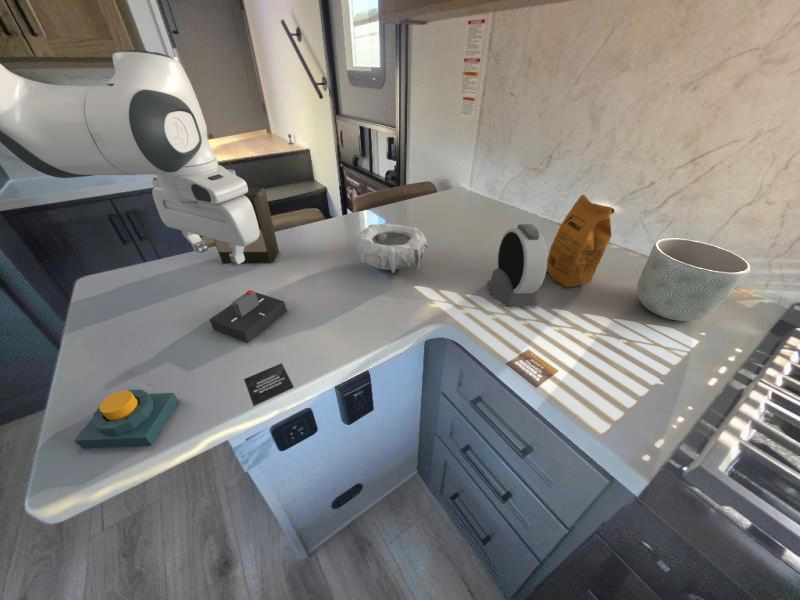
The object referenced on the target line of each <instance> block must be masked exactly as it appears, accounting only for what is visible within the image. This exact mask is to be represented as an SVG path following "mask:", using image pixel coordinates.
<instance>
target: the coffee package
mask: <svg viewBox="0 0 800 600" xmlns="http://www.w3.org/2000/svg"><path fill="white" fill-rule="evenodd" d="M614 213H615V208H614V207H611V206H607V205H602V204H598V203H592V202H591V200H589V199H588V197H587V196H586V195H585V194H581V195H580V196H579V197H578V199H577V201H576V202H575V203H574V204H573V206H572V207H571V209H570V211H569V212H568V214H566V216H565V218H564V219H563V221H562V222H561V223H560V226H559V228H558V230H557V232H556V235H555V237H554V239H553V241H552V244H551V245H550V247H549V251H548V255H547V269H546V273H549V275H550V277H551V279H552V280H553V281H554V282H556V283H557V284H560V285H561V286H563V287H564V288H571V287H577V286H582V285H588V284H591V282H592V281H593V278H594V276H595V273H596V270H597V268H598V266H599V264H600V263H601V260H602V258H603V256H604V254H605V252H606V249H607V246H608V245H609V243H610V241H611V239H612V224H611V223H612V222H611V215H613V214H614Z"/></svg>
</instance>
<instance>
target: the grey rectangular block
mask: <svg viewBox="0 0 800 600" xmlns="http://www.w3.org/2000/svg"><path fill="white" fill-rule="evenodd" d="M231 304H233V306H234V309H235V311H236V314H237V315H238V316H241V317H243V316H244V315H245V314H247V313H248V312H250V311H251V310H252V309H254V308H255V307H256V306H258V305H259V302H258V299H257V296H256V291H254V290H251V289H248V290H247V291H246V292H245V293H243V294H242V295H241V296H239V297H238V298H236V299H235V300H233V301H232V302H231Z"/></svg>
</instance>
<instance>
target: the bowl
mask: <svg viewBox="0 0 800 600" xmlns="http://www.w3.org/2000/svg"><path fill="white" fill-rule="evenodd" d="M356 241H357V243H356V248H357V251H359V254H360V257H361V260H362V263H363V264H368V265H370V266H371V267H374V268H376V269H379V270H381V271H382V270H383V271H384V270H385V271H391V273H393V274H395V272H396V270H402V269H405V268H407V267H408V268H410V267H411V265H414V264H415V266H416V268H417V270H419V267H420V261H421V259H422V258H423V256H425V250H426V249H428V246H429V245H428V240H427V238H426V236H425V235H424V233H423V232H422V231H421V230H420V229H419V228H417V227H416V226H414V225H410V226H406V225H401V224H391V223H381V224H375V223H373V224H369V226H367V227H366V228H364V229H363V230H361V231H360V233H359V236H358V237H357V239H356Z"/></svg>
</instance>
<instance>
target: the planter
mask: <svg viewBox="0 0 800 600" xmlns="http://www.w3.org/2000/svg"><path fill="white" fill-rule="evenodd" d="M751 270H752V266H751V265H750V263H749V262H748V261H747V260H746V259H744V258H743V257H742V256H740V255H739V254H736V253H734V252H732V251H730V250H728V249H725V248H723V247H719V246H717V245H714V244H710V243H707V242H702V241H699V240H693V239H686V238H677V237H676V238H674V237H671V238H668V237H667V238H662V239H659V240H657V241H655V242H654V244H653V246H652V248H651V251H650V253H649V255H648V257H647V260H646V261H645V264H644V267H643V268H642V272H641V274H640V276H639V278H638V281H637V284H636V295H637V298H638V300H639V302H640V303H641V305H642V306H643V307H644V308H645V309H646V310H648V311H650V312H651V313H653V314H655V315H656V316H659V317H661V318H663V319H668V320H672V321H677V322H689V321H690V322H691V321H696V320H700V319H702V318H704V317H706V316H708V315H709V314H711V313H713V312H714V311H715V310H716V309H717V308H718V307H719V306H720V305H721V304H722V303H723V302H724V301H725V300H726V298H727V297H728V296H729V295H730V294H731V293H732V292H733V291H734V290H735V289H736V287H738V285H739V284H740V283H741V282H742V281H743V280H744V279H745V277H747V275H748V274H749V273H750V272H751Z"/></svg>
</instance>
